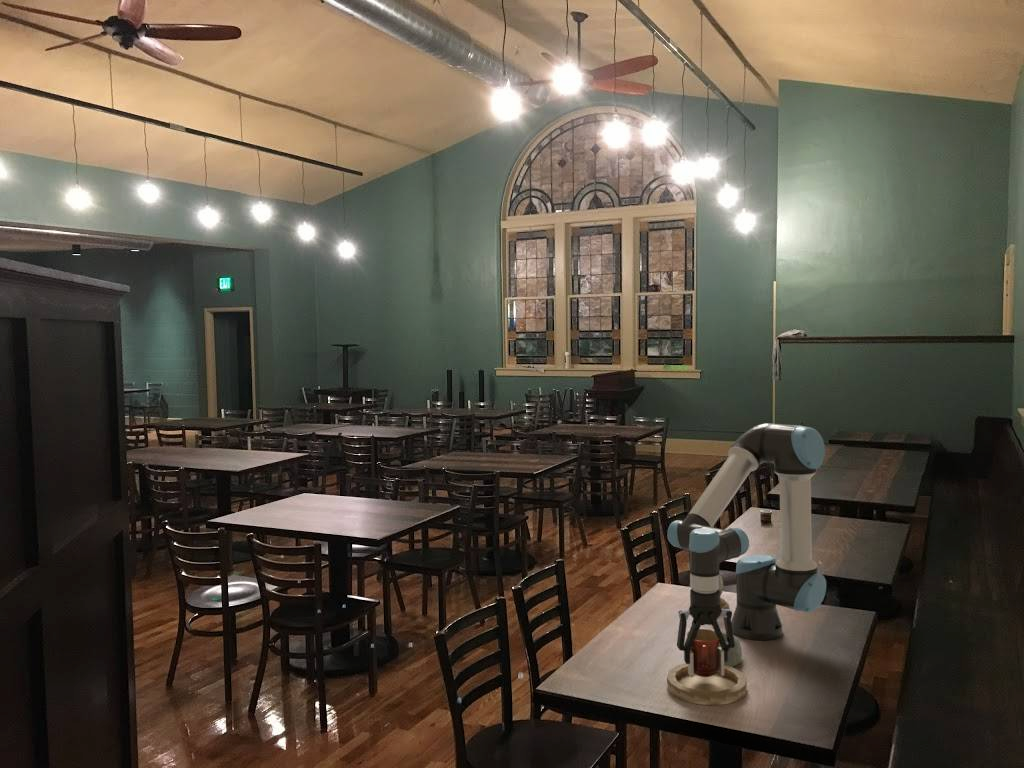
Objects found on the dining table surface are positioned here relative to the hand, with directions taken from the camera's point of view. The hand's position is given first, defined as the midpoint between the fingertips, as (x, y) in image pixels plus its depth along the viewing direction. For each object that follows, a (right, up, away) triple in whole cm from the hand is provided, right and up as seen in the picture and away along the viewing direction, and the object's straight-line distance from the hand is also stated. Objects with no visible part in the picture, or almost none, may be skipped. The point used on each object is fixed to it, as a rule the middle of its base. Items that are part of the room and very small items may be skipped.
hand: (706, 674), depth 220 cm
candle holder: (+17, +2, +60) cm, 63 cm away
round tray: (0, -4, 0) cm, 4 cm away
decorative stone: (+9, -2, +17) cm, 19 cm away
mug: (0, 0, 0) cm, 1 cm away
